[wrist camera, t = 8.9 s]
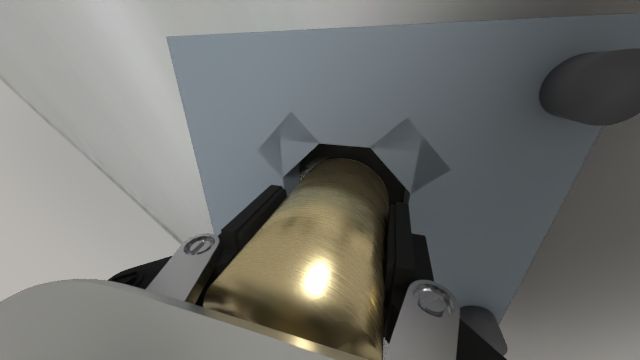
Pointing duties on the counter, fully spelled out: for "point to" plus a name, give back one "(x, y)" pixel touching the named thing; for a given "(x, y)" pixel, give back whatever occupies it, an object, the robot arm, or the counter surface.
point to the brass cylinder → (317, 263)
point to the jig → (420, 126)
